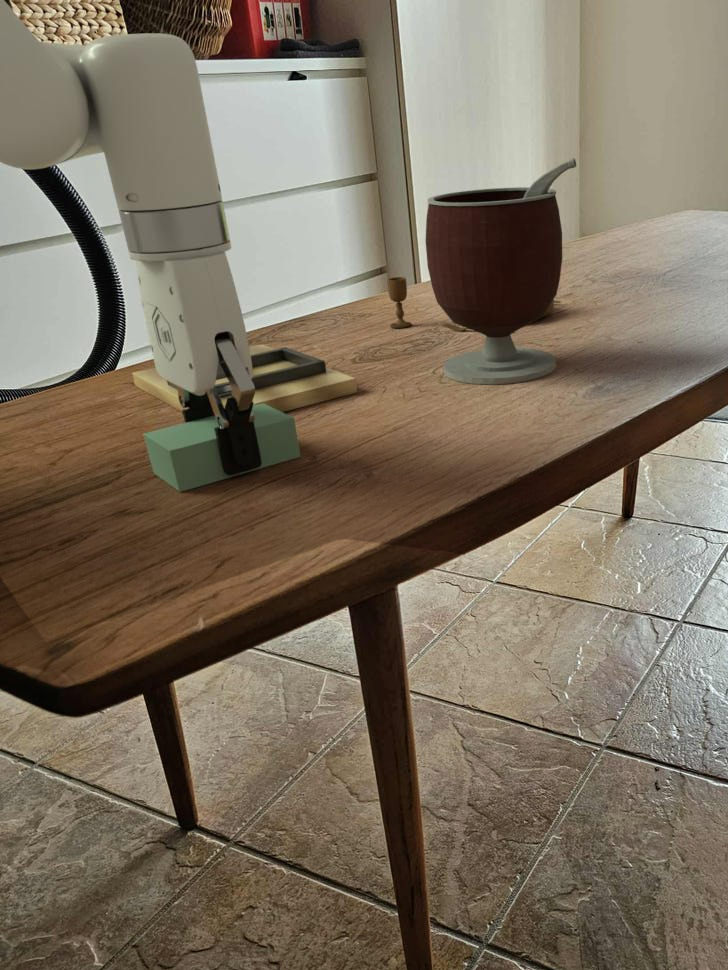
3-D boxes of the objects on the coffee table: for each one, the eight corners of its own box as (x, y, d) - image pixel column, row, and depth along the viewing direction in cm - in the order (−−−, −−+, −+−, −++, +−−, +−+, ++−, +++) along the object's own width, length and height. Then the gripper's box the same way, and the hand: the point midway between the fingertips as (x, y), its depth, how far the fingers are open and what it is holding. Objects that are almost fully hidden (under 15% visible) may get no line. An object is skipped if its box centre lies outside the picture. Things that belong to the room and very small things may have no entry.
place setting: (529, 334, 110) (527, 283, 107) (385, 329, 117) (379, 281, 114) (571, 303, 124) (570, 257, 121) (439, 300, 131) (435, 257, 128)
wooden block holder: (213, 430, 86) (207, 402, 84) (135, 386, 101) (128, 361, 99) (357, 392, 93) (354, 366, 92) (264, 356, 109) (260, 334, 107)
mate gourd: (418, 384, 95) (397, 171, 84) (460, 350, 106) (447, 158, 95) (561, 389, 90) (558, 165, 80) (590, 353, 101) (591, 152, 91)
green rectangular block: (179, 492, 72) (169, 450, 71) (153, 473, 77) (142, 433, 75) (301, 457, 78) (294, 417, 76) (270, 440, 82) (263, 403, 80)
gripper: (91, 230, 72) (149, 447, 81) (171, 249, 60) (227, 501, 69) (181, 218, 75) (226, 427, 85) (273, 233, 63) (313, 474, 73)
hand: (226, 458), depth 77 cm, fingers closed on green rectangular block, 6 cm apart
